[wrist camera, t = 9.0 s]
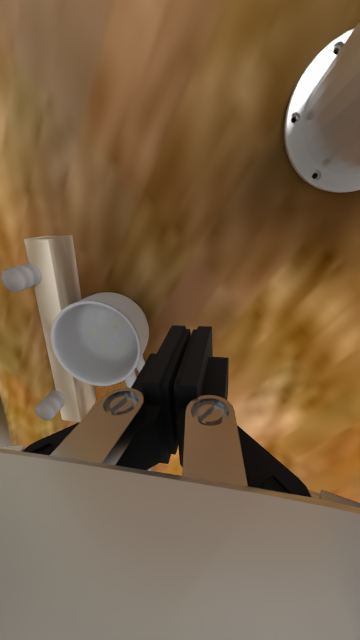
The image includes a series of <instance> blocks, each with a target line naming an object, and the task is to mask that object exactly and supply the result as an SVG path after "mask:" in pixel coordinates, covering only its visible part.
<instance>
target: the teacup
mask: <svg viewBox="0 0 360 640" xmlns="http://www.w3.org/2000/svg"><path fill="white" fill-rule="evenodd" d="M148 339H149V326H148V322H147V319H146V316H145V314H144V313H143V311H142V310H141V308H140V307H139V306H138V305H137V304H136V303H135V302H134V301H132V300H131V299H129V298H128V297H126V296H124V295H121V294H118V293H113V292H102V293H97V294H93V295H91V296H88V297H86V298H84V299H82V300H80V301H78V302H75V303H72V304H70V305H69V306H67V307H65V308H64V309H63V310H62V311H61V312H60V313H59V314H58V315H57V316H56V318H55V320H54V322H53V324H52V328H51V344H52V349H53V351H54V354H55V356H56V358H57V360H58V362H59V363H60V364H61V366H62V367H63V368H64V369H65V370H66V371H67V372H68V373H69V374H71V375H72V376H73V377H75V378H76V379H78V380H80V381H82V382H84V383H87V384H90V385H95V386H109V385H113V384H116V383H119V382H121V381H123V380H125V382H126V384H127V386H128V388H131V387H132V385H133V383H134V382H135V380H136V375H135V369H137V371H138V373H140V371H141V370H142V368H143V366H144V364H145V361H144V359H143V353H144V351H145V348H146V346H147V343H148Z"/></svg>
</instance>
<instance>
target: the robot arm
mask: <svg viewBox="0 0 360 640" xmlns="http://www.w3.org/2000/svg"><path fill="white" fill-rule="evenodd" d="M334 50H337V52H338V54H337V55H336V54H334V52H333V51H334ZM291 118H295V119H296V122H295V123H292V122H291ZM284 142H285V148H286V153H287V155H288V158H289V160H290V163H291V165H292V166H293V168H294V169H295V171H296V172H297V174H298V175H299V176H300V177H301V178H302V179H303V180H304V181H305V182H307V183H308V184H310V185H312V186H313V187H315V188H317V189H321V190H324V191H327V192H336V193H343V192H353V191H357V190H360V22H359V23H358V25H357V26H356V27H355V28H353V29H350V30H348V31H346V32H344V33H343V34H341V35H340V36H338V37H337V38H335V39H334V40H332V41H331V42H330V43H329V44H328V45H327V46H325V47H324V48H323V49H322V50H321V51H320V52H319V53H318V54H317V55H316V56H315V57H314V59H313V60H312V61H311V62H310V64H309V65H308V66H307V67H306V69H305V71H304V72H303V74H302V75H301V77H300V79H299V81H298V82H297V84H296V86H295V88H294V90H293V93H292V95H291V98H290V101H289V104H288V107H287V110H286V116H285V122H284ZM314 173H315V174H316V175H317V177H316V178H315V179H313V178H312V175H313V174H314ZM227 395H228V358H221V357H212V327H204V326H198V329H197V330H193V332H192V334H191V333H190V329H186V327H185V326H173V325H172V327H171V328H170V330H169V332H168V334H167V336H166V338H165V340H164V341H163V343H162V345H161V347H160V349H159V351H158V353H157V354H151V355H150V356H149V357H148V359H147V361H146V363H145V364H144V366H143V368H142V370H141V371H140V373H139V375H138V376H137V378H136V380H135V382H134V383H133V385H132V387H131V388H121V389H117V390H114V391H112V392H110V393H108V394H106V395H105V396H104V397H103V398H102V399H101V400H100V401H99V402H98V403H97V404H96V405H95V407H94V408H93V409H92V410H91V411H90V412H89V413H88V414H87V415H86V416H85V417H84V419H83V420H82V421H81V422H79V423H77V424H74V425H72V426H70V427H68V428H65V429H63V430H61V431H59V432H56V433H54V434H52V435H50V436H47V437H45V438H43V439H41V440H39V441H36V442H35V443H33V444H31V445H29V446H28V447H27V448H25V447H24V446H12V447H0V640H360V503H358V502H355V501H352V500H350V499H347V498H344V497H341V496H338V495H335V494H332V493H329V492H327V491H324V490H321V492H320V494H319V493H316V492H313V491H310V490H308V489H307V487H306V486H305V485H304V484H303V483H302V481H301V480H300V479H299V478H298V477H297V476H295V475H294V474H293V473H292V472H291V471H290V470H288V469H287V468H286V467H285V466H284V465H283V464H281V463H280V462H279V461H278V460H277V459H276V458H275V457H273V456H272V455H271V454H270V453H269V452H268V451H266V450H265V449H264V448H263V447H262V446H261V445H259V444H258V443H257V442H256V441H255V440H254V439H252V438H251V437H250V436H249V435H248V434H247V433H246V432H244V431H243V430H242V429H241V428H240V427H239V426H237V423H236V417H235V412H234V409H233V406H232V405H231V404H230V403H229V401H227ZM178 445H179V456H180V465H181V466H182V467H183V472H182V476H179V475H173V474H167V473H160V472H154V466H155V465H156V464H158V463H166V464H168V463H169V459H170V456H171V454H176V452H177V448H178Z"/></svg>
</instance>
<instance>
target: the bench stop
mask: <svg viewBox="0 0 360 640" xmlns="http://www.w3.org/2000/svg"><path fill="white" fill-rule="evenodd" d="M24 242H25V247H26V251H27V256H28V261H29V263H26V264H23V265H19V266H15V267H11V268H8V269H5V270H4V271H3V272H2V282H3V284H4V285H5V287H6V288H7V289H9V290H10V291H13V292H19V291H22V290H24V289H27V288H29V287H32V286H34V289H35V294H36V298H37V303H38V308H39V312H40V317H41V322H42V327H43V331H44V336H45V341H46V345H47V350H48V355H49V360H50V364H51V369H52V374H53V378H54V383H55V388H54V389H53V390H52V391H51V392H50V393H49V394H48V395H47V397H46V398H45V399H44V400H43V401H42V402H41V403H40V404H39V405H38V406H37V407H36V413H37V415H38V416H39V417H40V418H42V419H44V420H51V419H52V418H53V417H54V416H55V415H56V414H57V412H58V411H59V410H60V411H61V416H62V420H67V421H74V422H81V421H82V420H83V419H84V417H85V416H86V415H87V413H88V412H89V410H90V409H91V407H92V406H93V405H94V403H95V402H96V394H95V388H94V385H90V384H87V383H84V382H82V381H80V380H78V379H76V378H75V377H73V376H72V375H71V374H69V373H68V372H67V371H66V370H65V369H64V368H63V367H62V366H61V364H60V363H59V362H58V360H57V358H56V356H55V354H54V351H53V349H52V344H51V328H52V324H53V322H54V320H55V318H56V316H57V315H58V314H59V313H60V312H61V311H62V310H63V309H64V308H65V307H67V306H69V305H70V304H72V303H75V302H78V301H80V300H82V298H81V291H80V284H79V278H78V271H77V264H76V257H75V250H74V243H73V236H72V235H48V236H41V237H35V238H28V239H24Z"/></svg>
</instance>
